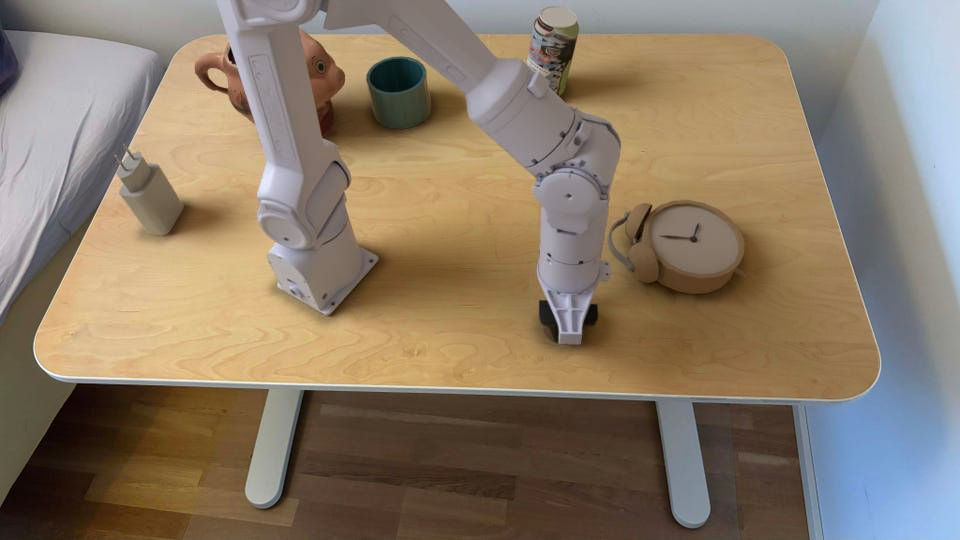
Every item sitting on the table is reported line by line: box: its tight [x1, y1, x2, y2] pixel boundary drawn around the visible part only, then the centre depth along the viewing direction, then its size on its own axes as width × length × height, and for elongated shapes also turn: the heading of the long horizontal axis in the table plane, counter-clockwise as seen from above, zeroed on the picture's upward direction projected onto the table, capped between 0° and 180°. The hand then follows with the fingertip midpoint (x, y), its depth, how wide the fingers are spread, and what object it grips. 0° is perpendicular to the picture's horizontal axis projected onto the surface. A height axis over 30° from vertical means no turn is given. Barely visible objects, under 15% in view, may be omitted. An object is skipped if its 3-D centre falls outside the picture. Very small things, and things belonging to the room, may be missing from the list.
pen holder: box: [365, 55, 432, 130], centre depth 92 cm, size 8×8×6 cm
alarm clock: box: [607, 199, 747, 295], centre depth 76 cm, size 11×5×15 cm
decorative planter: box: [194, 28, 346, 138], centre depth 88 cm, size 20×12×14 cm, turn 90°
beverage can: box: [526, 5, 580, 97], centre depth 91 cm, size 6×7×12 cm
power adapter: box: [114, 143, 185, 236], centre depth 80 cm, size 3×5×12 cm, turn 169°
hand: (563, 319), depth 71 cm, fingers closed on tape roll, 4 cm apart
